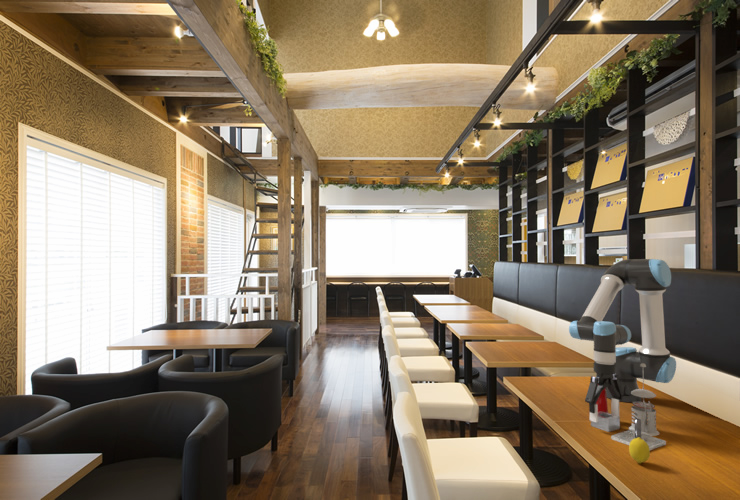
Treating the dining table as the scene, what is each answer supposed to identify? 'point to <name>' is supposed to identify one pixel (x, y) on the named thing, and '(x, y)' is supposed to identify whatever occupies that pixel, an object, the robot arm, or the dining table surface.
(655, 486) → the dining table surface
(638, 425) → the toggle switch
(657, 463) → the dining table surface
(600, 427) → the white square hollow block
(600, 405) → the beverage can
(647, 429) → the french press
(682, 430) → the dining table surface
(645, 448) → the lemon
